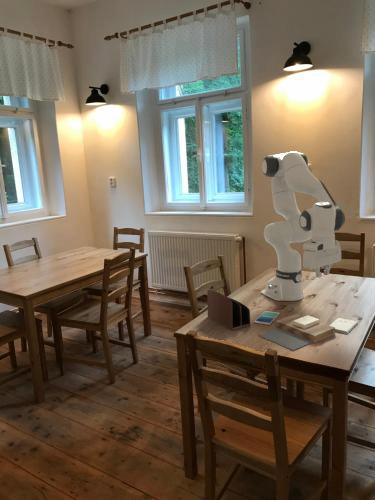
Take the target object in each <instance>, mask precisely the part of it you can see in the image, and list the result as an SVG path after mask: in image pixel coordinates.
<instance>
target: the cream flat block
mask: <svg viewBox="0 0 375 500" xmlns="http://www.w3.org/2000/svg"><path fill="white" fill-rule="evenodd" d="M319 322H320V318H316V317H314V316H311V315H308V314H307V315H305V316H303V317H302V318H299V319H296V320H294V321H293V324H294V325H296V326H299V327H302V328H304V329H305V328H308V327H310V326H313V325H315V324H318V323H319Z"/></svg>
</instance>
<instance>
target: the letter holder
mask: <svg viewBox="0 0 375 500" xmlns="http://www.w3.org/2000/svg"><path fill="white" fill-rule="evenodd" d="M206 303H207V318H209V317H210V318H209V319H212V320H213V321H214V320H215V321H214V322H216V323H218V324H219V325H221V326H223V327H224V328H226V329H228V330H229V331H231V332H233V331H236V330H239V329H243V328H247V327H250V326H251V310H250V308H249V307H248V306H247V305H245V304H244V303H242V302H240V301H239V300H236V299H234V298H231V297H229V296H227V295H224V294H222V293H220V292H218V291H217V290H213V289H208V290H207V302H206Z"/></svg>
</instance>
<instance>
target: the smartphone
mask: <svg viewBox="0 0 375 500" xmlns="http://www.w3.org/2000/svg"><path fill="white" fill-rule="evenodd" d="M279 316H280V312H278V311H277V312H276V311H269V310H264V311H263V312H262V313H261V314H260V315H259V316H258V317H257V318H256V319H255V320H254V321H253V323H254V324H258V325H265V326H270V325H271V324H273V323H274V322H275V321H276V319H277V318H278V317H279Z"/></svg>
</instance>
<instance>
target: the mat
mask: <svg viewBox="0 0 375 500" xmlns="http://www.w3.org/2000/svg"><path fill="white" fill-rule="evenodd" d="M258 336H259V337H261V338H263V339H264V340H267V341H270V342H272V343H274V344H277V345H278V346H281V347H283V348H286V349H288V350H290V351H292V352H294V351H297V350H299V349H301V348H303V347H306V346H308V345H310V344H313V341H310V340H308V339H305V338H303V337H300V336H298V335H295V334H293V333H290V332H288V331H285V330H283V329H280V328H276V327H275V328H272V329H271V330H270V329H269V330H267V331H265V332H262V333H260V334H258Z"/></svg>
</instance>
